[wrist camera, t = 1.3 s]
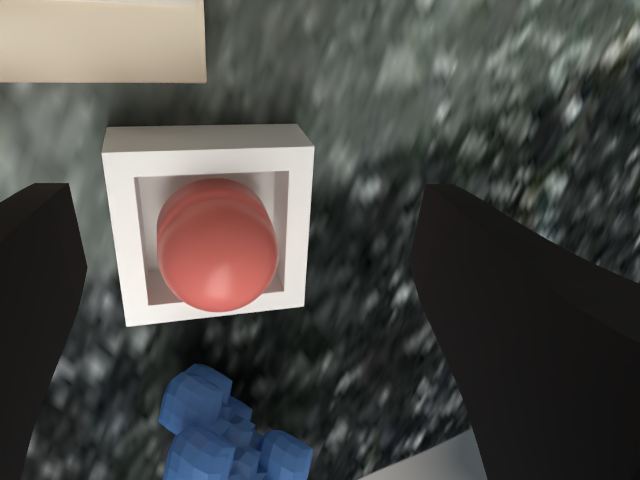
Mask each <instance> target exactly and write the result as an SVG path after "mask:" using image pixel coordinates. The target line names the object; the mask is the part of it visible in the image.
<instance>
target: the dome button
mask: <svg viewBox="0 0 640 480" xmlns="http://www.w3.org/2000/svg"><path fill="white" fill-rule="evenodd" d="M157 258H158V264H159V269H160V272H161V275H162V277H163V279H164V281H165V283H166V285H167V286H168V287H169V289H170V290H171V291H172V292H173V293H174V294H175V295H176V296H177V297H178V298H179V299H180V300H182V301H183V302H185V303H186V304H188V305H190V306H191V307H194V308H196V309H200V310H203V311H208V312H228V311H233V310H236V309H239V308H242V307H244V306H246V305H248V304H250V303H251V302H253V301H254V300H255V299H257V298H258V297H259V296H260V295H261V294H262V293H263V292H264V291H265V290H266V288H267V287H268V286H269V284H270V282H271V281H272V279H273V277H274V275H275V272H276V269H277V265H278V259H279V245H278V240H277V236H276V233H275V230H274V228H273V225H272V223H271V220H270V218H269V216H268V213H267V211H266V209H265V206H264V205H263V203H262V201H261V200H260V198H259V197H258V196H257V195H256V194H255V193H254V192H253V191H252V190H251V189H249V188H248V187H246V186H245V185H243V184H241V183H238V182H236V181H233V180H229V179H223V178H207V179H202V180H197V181H194V182H192V183H189V184H187V185H185V186H183V187H182V188H180V189H179V190H177V191H176V192H175V193H174V194H172V195H171V196H170V197H169V199H168V200H167V201H166V202H165V204H164V205H163V207H162V209H161V211H160V213H159V216H158V220H157Z"/></svg>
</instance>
